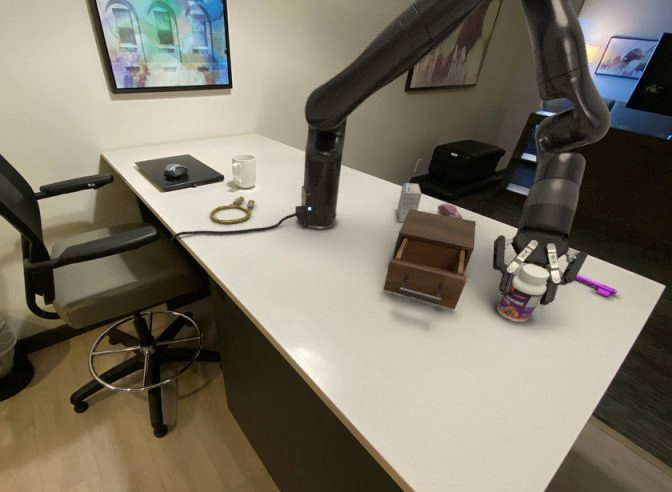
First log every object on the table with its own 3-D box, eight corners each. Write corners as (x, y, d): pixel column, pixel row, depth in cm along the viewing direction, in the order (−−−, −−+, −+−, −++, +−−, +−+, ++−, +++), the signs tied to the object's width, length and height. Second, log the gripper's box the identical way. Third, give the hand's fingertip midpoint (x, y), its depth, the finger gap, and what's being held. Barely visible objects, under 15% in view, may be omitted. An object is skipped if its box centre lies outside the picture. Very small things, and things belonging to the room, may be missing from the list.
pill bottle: (489, 306, 63) (510, 264, 58) (511, 301, 65) (534, 260, 59) (512, 325, 59) (537, 282, 53) (535, 319, 61) (562, 276, 55)
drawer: (452, 327, 57) (465, 297, 53) (376, 305, 62) (383, 275, 58) (458, 275, 70) (469, 248, 66) (395, 260, 75) (402, 233, 71)
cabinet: (459, 283, 69) (474, 248, 64) (390, 266, 75) (398, 232, 69) (463, 253, 79) (475, 221, 74) (401, 240, 84) (409, 209, 79)
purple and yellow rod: (616, 293, 67) (533, 259, 77) (619, 289, 66) (534, 255, 77) (609, 300, 66) (526, 265, 77) (612, 296, 65) (528, 261, 76)
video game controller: (437, 222, 96) (433, 202, 92) (453, 216, 95) (449, 195, 91) (454, 239, 88) (450, 217, 84) (471, 231, 87) (467, 210, 83)
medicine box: (414, 223, 92) (422, 193, 87) (398, 222, 93) (405, 192, 88) (411, 212, 98) (419, 183, 93) (396, 210, 99) (402, 182, 94)
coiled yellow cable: (269, 212, 97) (268, 206, 96) (224, 228, 88) (223, 221, 87) (244, 200, 104) (243, 194, 103) (200, 214, 95) (199, 207, 94)
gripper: (510, 194, 58) (484, 284, 57) (609, 210, 53) (584, 308, 52) (497, 211, 65) (474, 292, 64) (584, 226, 60) (562, 314, 59)
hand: (524, 299), depth 58 cm, fingers closed on pill bottle, 5 cm apart
